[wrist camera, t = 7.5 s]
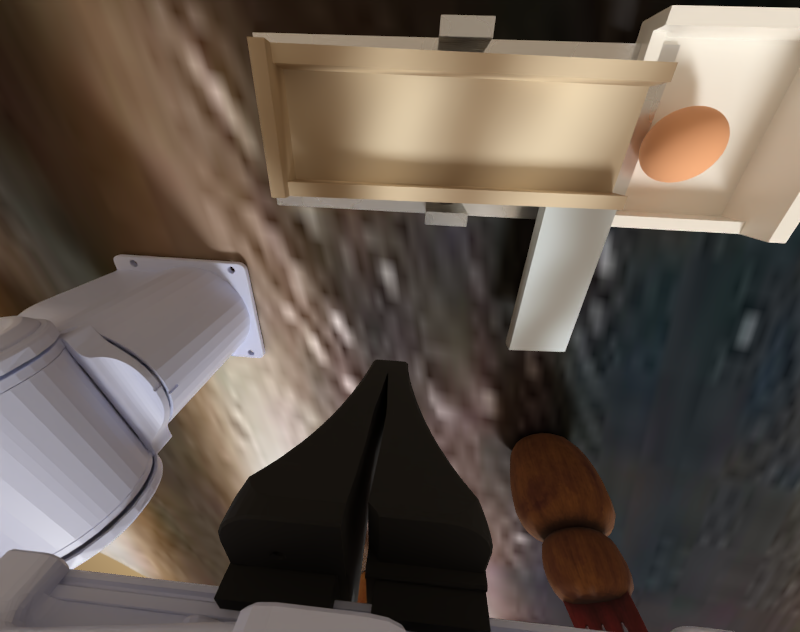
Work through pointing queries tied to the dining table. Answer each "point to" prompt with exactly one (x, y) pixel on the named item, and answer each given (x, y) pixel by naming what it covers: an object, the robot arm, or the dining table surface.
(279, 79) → the beige tray
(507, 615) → the dining table surface
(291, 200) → the stand
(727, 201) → the dish
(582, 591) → the wooden figurine
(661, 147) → the brown egg
